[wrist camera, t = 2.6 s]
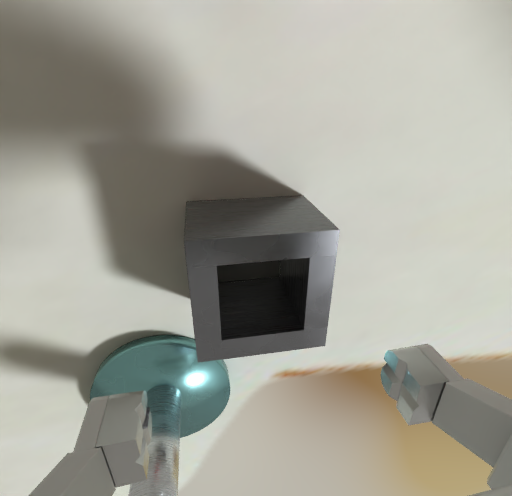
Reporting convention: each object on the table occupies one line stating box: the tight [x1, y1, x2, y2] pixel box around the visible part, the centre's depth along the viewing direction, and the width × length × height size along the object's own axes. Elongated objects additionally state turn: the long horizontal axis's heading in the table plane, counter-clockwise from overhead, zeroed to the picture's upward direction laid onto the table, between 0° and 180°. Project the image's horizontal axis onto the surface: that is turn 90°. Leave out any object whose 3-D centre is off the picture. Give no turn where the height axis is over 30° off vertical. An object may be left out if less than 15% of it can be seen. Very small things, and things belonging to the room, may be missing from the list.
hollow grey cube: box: [184, 196, 340, 363], centre depth 16 cm, size 6×6×5 cm
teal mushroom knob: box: [90, 335, 230, 496], centre depth 18 cm, size 9×9×9 cm
